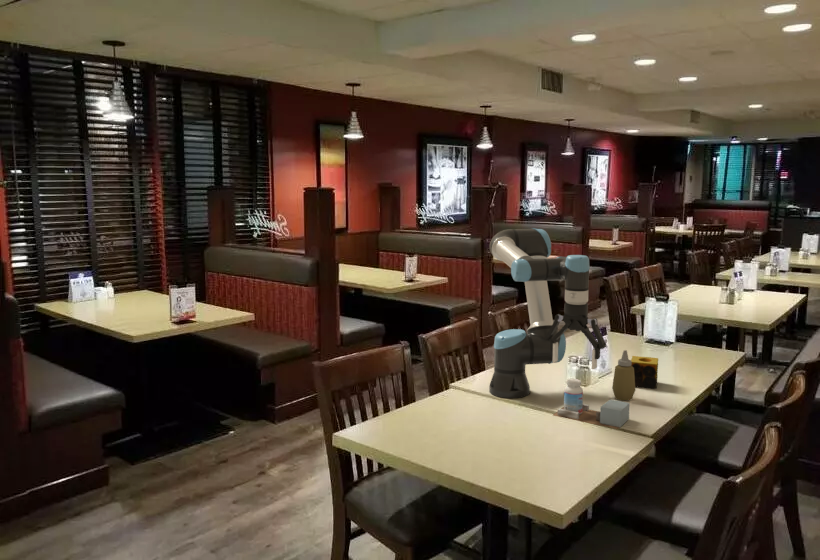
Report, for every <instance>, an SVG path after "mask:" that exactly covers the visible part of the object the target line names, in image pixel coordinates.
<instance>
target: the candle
mask: <svg viewBox="0 0 820 560" xmlns="http://www.w3.org/2000/svg"><path fill="white" fill-rule="evenodd" d="M630 360H631V361H632V364H631V366H632V367H634V376H635V388H640V389H649V390H657V387H658V369H659V357H650V356H640V355H639V356H638V355H637V356H636V355H632V356H631V359H630Z"/></svg>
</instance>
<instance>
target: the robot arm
mask: <svg viewBox="0 0 820 560" xmlns="http://www.w3.org/2000/svg"><path fill="white" fill-rule="evenodd" d="M489 251H490V253H491V255H492V256H493V257H494V259H496V260H498V261H500V262H503V263H505V264H506V265H507V266H508V267H509V268H510V272H511V273H510V274H511V277H512V279H513V281H514V282H523V283H524V286H525V287H524V288H525V295H526V301H527V302H526V303H527V310H528V316H529V324H530V326H529V327H528V328H527V330H526V331H527V332H526V331H525V330H524V329H521V328H520V329H519V328H517V329H516V328H513V329H512V328H511V329H505V330H502V331H500V332H498V333H496V334H495V336H494V343H493V348H494V350H493V352H494V354H493V355H494V356H493V357H494V358H493V365H494V367H493V368H494V369H493V374H492V377H491V380H490V383H489V393H490V394H491V395H494V396H496V397H500V398H509V399H516V398H517V399H518V398H524V397H527V396H529V394H530V392H531V389H530V388H531V387H530V384H529V381H528V377H527V373H526V365H543V364H544V365H545V364H549V365H551V364H557V363H560V362H561V361H562V360H563V359H564V357H565V353H566V350H567V339H566V338H567V337H566V336H565V332H566V331H568V330H570V331H576V332H579V331H580V332H581V333H582V334H583V335H584V336H585V337H586V339H587V340H588V342H589V343H590V344H591V346H592V347H593V348H592V350H591V351H592V352H591V369H592V370H596V369H597V367H598V360H599V359H600V358H601V350H603V349H605V348H606V347H607V343H606V341H605V339H604V337H603V334H602V332H601V329H600V327H599V325H598V319H597V318H589V317H588V314H589V313H588V311H589V304H588V302H589V282H590V269H591V268H590V267H591V266H590V258H589V256H587V255H583V254H570V255H567V256H557V257H554V258H550V256H551V254H552V241H551V239H550V236H549V233H548V232H547V231H546V230H545V229H542V228H534V227H532V228H517V229H514V228H513V229H510V228H509V229H503V230H500V231H498V232H497V233H496V234H495V235H494V236H492V238H491V240H490V242H489ZM548 281H564V301H565V303H564V308H563V312H564V313H563V315H561V313H558V314H556V315H555V316H554V319H553V314H552V312H553V311H552V306H551V300H550V294H549V293H550V291H549V286H548ZM562 321H563V323H564V325H562V327H561V329H559V324H560V323H561V322H562ZM588 324H589V325H590V327H591V329H592V331H593V333H592V332H591V330H590V329H589V326H588ZM593 334H594V335H593Z"/></svg>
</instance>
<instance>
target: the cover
mask: <svg viewBox="0 0 820 560" xmlns="http://www.w3.org/2000/svg"><path fill="white" fill-rule="evenodd" d="M599 412H600V423H602V424H606V425H611V426H616V427H619V428H621V427H622V426H623V425H624V424H625V423H626V422H627V421H629V419H630V402H628V401H622V400H617V399H616V400H615V399H609V400H607V401H606V402H605V403H603V404H602V405H601V406H600V410H599Z"/></svg>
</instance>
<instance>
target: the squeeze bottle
mask: <svg viewBox="0 0 820 560" xmlns="http://www.w3.org/2000/svg"><path fill="white" fill-rule="evenodd" d="M631 364H632V361H631V359H629V355H628V350H626V349H624V350H623V352H622V356H621V358H619V359H618V360H617V365H616V366H615V367H614V374H613V382H612V387H611V388H612V391H613V396H614V398H615V399H616V400H617V401H622V402H629V401H632V400H633V397H634V396H635V392H636V387H635V376H634V367H632V366H631Z"/></svg>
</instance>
